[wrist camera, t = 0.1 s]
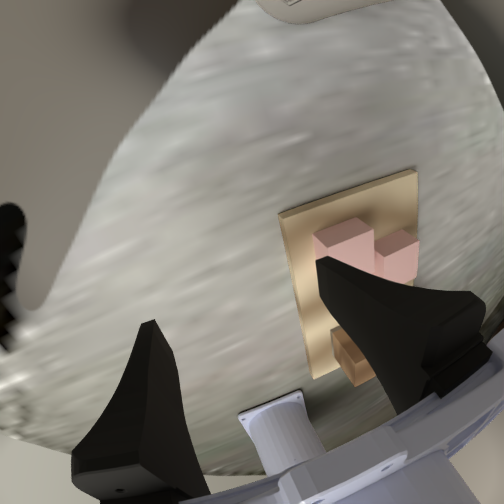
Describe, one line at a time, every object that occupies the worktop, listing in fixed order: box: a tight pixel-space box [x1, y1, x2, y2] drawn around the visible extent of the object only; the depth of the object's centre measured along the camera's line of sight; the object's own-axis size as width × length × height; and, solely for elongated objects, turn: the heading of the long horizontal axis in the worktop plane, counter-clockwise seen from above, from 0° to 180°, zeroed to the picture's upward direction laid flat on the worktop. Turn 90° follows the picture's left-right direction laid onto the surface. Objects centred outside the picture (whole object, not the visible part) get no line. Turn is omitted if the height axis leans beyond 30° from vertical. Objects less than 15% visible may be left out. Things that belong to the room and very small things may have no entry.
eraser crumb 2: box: [371, 229, 419, 284], centre depth 26 cm, size 4×4×2 cm
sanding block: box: [330, 325, 376, 387], centre depth 29 cm, size 4×8×5 cm, turn 104°
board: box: [278, 169, 418, 379], centre depth 29 cm, size 20×13×1 cm, turn 14°
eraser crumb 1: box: [312, 217, 375, 274], centre depth 24 cm, size 4×4×2 cm
